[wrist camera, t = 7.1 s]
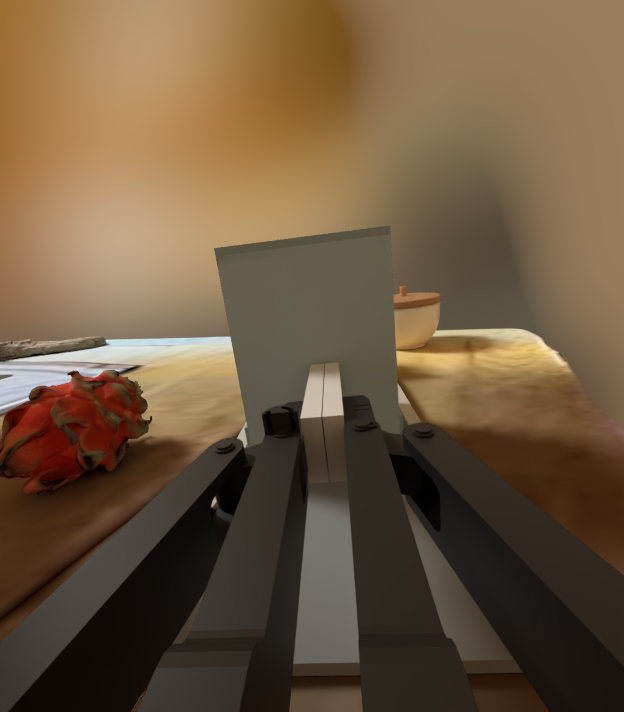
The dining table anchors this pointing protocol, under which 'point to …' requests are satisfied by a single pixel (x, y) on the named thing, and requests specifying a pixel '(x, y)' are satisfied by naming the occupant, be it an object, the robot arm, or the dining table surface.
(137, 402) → the dragon fruit
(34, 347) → the elongated rock
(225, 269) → the grey tall block
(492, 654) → the bay
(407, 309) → the lidded jar
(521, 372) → the dining table surface
